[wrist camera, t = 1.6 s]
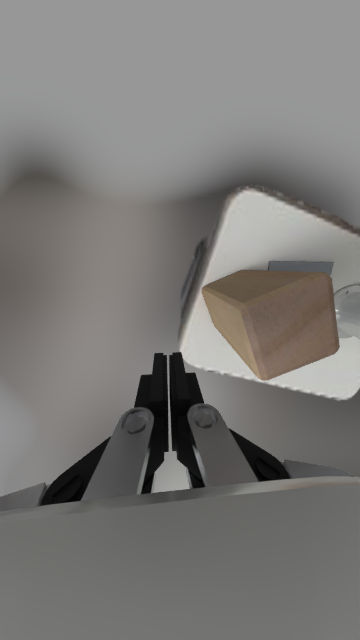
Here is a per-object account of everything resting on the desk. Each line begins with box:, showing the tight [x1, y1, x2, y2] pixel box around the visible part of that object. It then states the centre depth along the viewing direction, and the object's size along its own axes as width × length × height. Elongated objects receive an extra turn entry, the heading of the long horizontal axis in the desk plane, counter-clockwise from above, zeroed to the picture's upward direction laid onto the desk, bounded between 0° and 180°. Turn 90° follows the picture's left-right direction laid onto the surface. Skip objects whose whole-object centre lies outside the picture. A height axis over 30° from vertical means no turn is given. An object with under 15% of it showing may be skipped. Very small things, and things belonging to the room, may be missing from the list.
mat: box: [268, 261, 334, 276], centre depth 38 cm, size 14×16×1 cm
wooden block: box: [202, 270, 340, 380], centre depth 27 cm, size 10×10×20 cm
